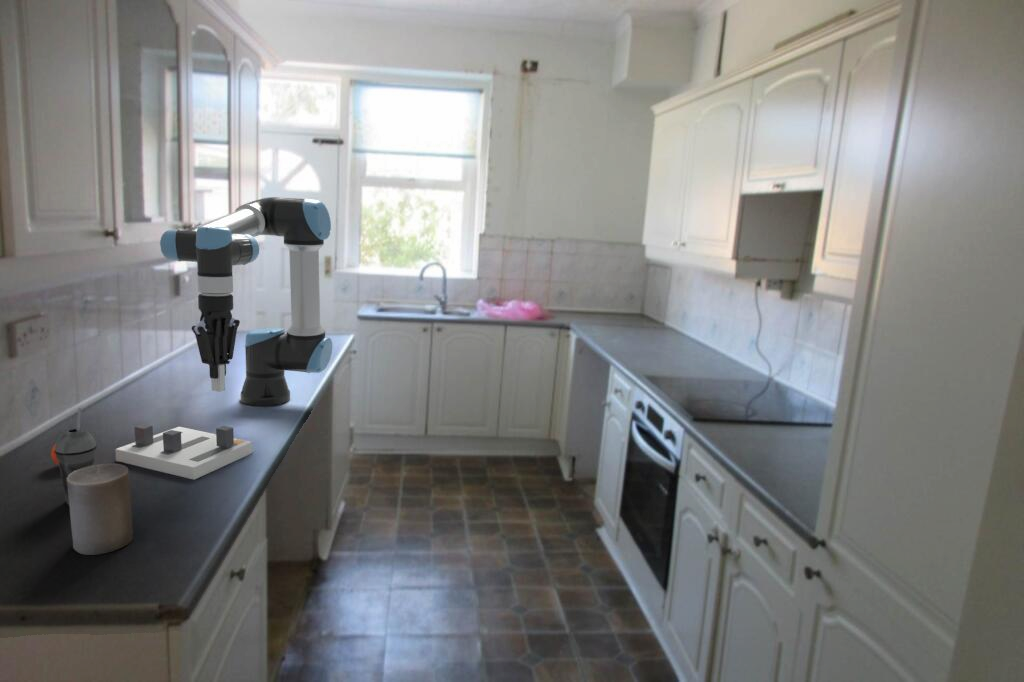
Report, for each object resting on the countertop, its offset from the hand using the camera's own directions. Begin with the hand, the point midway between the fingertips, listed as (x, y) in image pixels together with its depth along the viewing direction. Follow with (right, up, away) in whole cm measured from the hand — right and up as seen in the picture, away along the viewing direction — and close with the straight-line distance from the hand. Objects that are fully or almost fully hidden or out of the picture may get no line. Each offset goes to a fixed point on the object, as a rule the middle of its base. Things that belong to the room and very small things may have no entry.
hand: (218, 390), depth 158 cm
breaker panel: (-10, -17, +5) cm, 20 cm away
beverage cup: (-20, -22, -21) cm, 36 cm away
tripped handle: (0, -14, +4) cm, 15 cm away
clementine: (-32, -18, -4) cm, 37 cm away
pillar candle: (-5, -26, -37) cm, 45 cm away
